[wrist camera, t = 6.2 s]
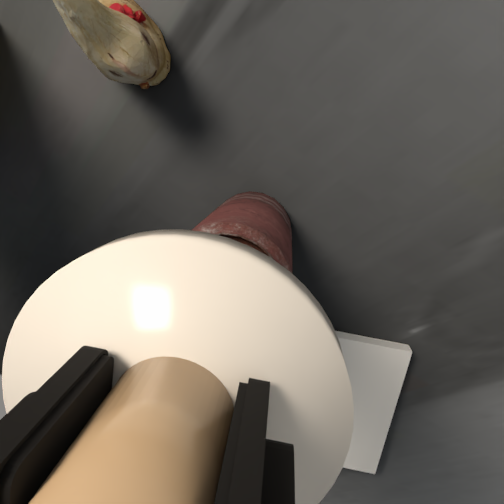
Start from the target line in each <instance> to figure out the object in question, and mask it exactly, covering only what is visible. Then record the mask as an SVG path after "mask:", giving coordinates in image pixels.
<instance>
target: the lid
mask: <svg viewBox="0 0 504 504" xmlns="http://www.w3.org/2000/svg"><path fill="white" fill-rule="evenodd" d="M83 346H91V347H96V348H101V349H106V350H107V351H108V356H111V357H113V358H114V368H113V381H112V389H111V391H110V392H109V393H108V395H107V396H106V397H105V399H104V400H103V402H102V403H101V404H100V406H99V407H98V408H97V410H96V411H95V413H94V414H93V415H92V417H91V418H90V419H89V421H88V422H87V424H86V425H85V426H84V428H83V429H82V430H81V432H80V433H79V435H78V436H77V437H76V439H75V440H74V441H73V443H72V444H71V446H70V447H69V448H68V450H67V451H66V452H65V454H64V455H63V457H62V458H61V459H60V461H59V462H58V463H57V465H56V466H55V468H54V469H53V470H52V472H51V473H50V474H49V476H48V477H47V479H46V480H45V481H44V483H43V484H42V485H41V487H40V488H39V489H38V491H37V492H36V494H35V495H34V496H33V498H32V499H31V500H30V502H29V503H28V504H214V502H215V497H216V492H217V487H218V482H219V478H220V473H221V468H222V463H223V459H224V454H225V449H226V444H227V439H228V435H229V430H230V425H231V420H232V416H233V411H234V406H235V401H236V396H237V392H238V387H239V382H242V383H247V384H248V381H249V378H253V379H258V380H263V381H268V382H270V393H269V405H268V418H267V431H266V439H270V440H275V441H280V442H285V443H290V444H293V446H294V469H295V504H318V503H319V502H320V501H321V500H322V499H323V498H324V496H325V495H326V494H327V492H328V491H329V490H330V489H331V487H332V486H333V484H334V482H335V481H336V479H337V477H338V475H339V473H340V472H341V470H342V468H343V465H344V462H345V460H346V457H347V454H348V451H349V448H350V443H351V438H352V433H353V420H354V405H353V396H352V388H351V383H350V380H349V376H348V372H347V368H346V364H345V360H344V357H343V353H342V349H341V346H340V342H339V339H338V337H337V335H336V332H335V330H334V328H333V326H332V323H331V321H330V320H329V318H328V316H327V315H326V313H325V311H324V310H323V308H322V307H321V305H320V303H319V302H318V301H317V300H316V298H315V297H314V296H313V295H312V294H311V292H310V291H309V290H308V289H307V287H306V286H305V285H304V284H303V283H302V282H300V281H299V280H298V279H297V278H296V277H295V276H294V275H293V274H292V273H291V272H290V271H289V270H287V269H286V268H284V267H283V266H282V265H280V264H279V263H278V262H276V261H275V260H273V259H272V258H271V257H269V256H267V255H265V254H263V253H261V252H260V251H258V250H256V249H254V248H252V247H250V246H248V245H245V244H243V243H240V242H238V241H235V240H233V239H230V238H227V237H223V236H219V235H215V234H211V233H207V232H201V231H192V230H184V229H171V230H154V231H147V232H140V233H136V234H132V235H129V236H125V237H122V238H118V239H116V240H113V241H111V242H109V243H107V244H105V245H102V246H100V247H98V248H96V249H94V250H92V251H91V252H89V253H87V254H85V255H83V256H81V257H79V258H77V259H76V260H74V261H72V262H71V263H69V264H68V265H66V266H64V267H63V268H61V269H60V270H58V271H57V272H55V273H54V274H53V275H52V276H51V277H49V278H48V279H47V280H46V281H45V282H44V283H43V284H42V285H40V286H39V287H38V288H37V290H36V291H35V292H34V293H33V295H32V296H31V297H30V298H29V299H28V301H27V302H26V303H25V305H24V306H23V308H22V310H21V311H20V313H19V315H18V317H17V318H16V320H15V322H14V325H13V327H12V330H11V332H10V335H9V337H8V340H7V344H6V349H5V353H4V358H3V369H2V387H3V399H4V404H5V409H6V413H8V412H9V411H10V410H11V409H12V408H14V407H15V406H16V405H17V404H18V403H19V402H20V401H21V400H22V399H23V398H24V397H25V396H27V395H28V394H29V393H31V392H36V391H37V390H38V389H39V388H40V387H41V386H42V385H43V384H44V383H45V382H46V381H47V380H48V379H49V378H50V377H51V376H52V375H53V374H54V373H55V372H57V371H58V370H59V369H60V368H61V367H62V366H63V365H64V364H65V363H66V362H67V361H68V360H69V359H70V358H71V357H72V356H73V355H74V354H75V353H76V352H77V351H78V350H79V349H80V348H81V347H83Z"/></svg>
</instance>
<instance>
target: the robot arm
mask: <svg viewBox="0 0 504 504" xmlns="http://www.w3.org/2000/svg"><path fill="white" fill-rule="evenodd" d="M113 368H114V358H113V357H111V356H108V351H107V350H106V349H101V348H96V347H91V346H83V347H81V348H80V349H79V350H78V351H77V352H76V353H75V354H74V355H73V356H72V357H71V358H70V359H69V360H68V361H67V362H66V363H65V364H64V365H63V366H62V367H61V368H60V369H59V370H58V371H57V372H55V373H54V374H53V375H52V376H51V377H50V378H49V379H48V380H47V381H46V382H45V383H44V384H43V385H42V386H41V387H40V388H39V389H38V390H37V391H36V392H31V393H29V394H28V395H27V396H25V397H24V398H23V399H22V400H21V401H20V402H19V403H18V404H17V405H16V406H15V407H14V408H12V409H11V410H10V411H9V412H8V413H7V414H6V415H5V416H4V417H3V418H2V419H1V420H0V504H28V503H29V502H30V500H31V499H32V498H33V496H34V495H35V494H36V492H37V491H38V489H39V488H40V487H41V485H42V484H43V483H44V481H45V480H46V479H47V477H48V476H49V474H50V473H51V472H52V470H53V469H54V468H55V466H56V465H57V463H58V462H59V461H60V459H61V458H62V457H63V455H64V454H65V452H66V451H67V450H68V448H69V447H70V446H71V444H72V443H73V441H74V440H75V439H76V437H77V436H78V435H79V433H80V432H81V430H82V429H83V428H84V426H85V425H86V424H87V422H88V421H89V419H90V418H91V417H92V415H93V414H94V413H95V411H96V410H97V408H98V407H99V406H100V404H101V403H102V402H103V400H104V399H105V397H106V396H107V395H108V393H109V392H110V391H111V389H112V381H113ZM269 393H270V382H268V381H263V380H258V379H253V378H249V381H248V384H247V383H242V382H239V387H238V392H237V396H236V401H235V406H234V411H233V416H232V420H231V425H230V430H229V435H228V439H227V444H226V449H225V454H224V459H223V463H222V468H221V473H220V478H219V482H218V487H217V492H216V497H215V502H214V504H295V469H294V446H293V444H290V443H285V442H280V441H275V440H270V439H266V431H267V418H268V405H269Z"/></svg>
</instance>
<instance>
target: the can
mask: <svg viewBox="0 0 504 504" xmlns="http://www.w3.org/2000/svg"><path fill="white" fill-rule="evenodd" d="M192 231H201V232H207V233H211V234H215V235H219V236H223V237H227V238H230V239H233V240H235V241H238V242H240V243H243V244H245V245H248V246H250V247H252V248H254V249H256V250H258V251H260V252H261V253H263V254H265V255H267V256H269V257H271V258H272V259H273V260H275V261H276V262H278V263H279V264H280V265H282V266H283V267H284V268H286V269H287V270H289V271H290V272H291V273H292V229H291V224H290V218H289V216H288V215H287V213H286V211H285V209H284V207H283V206H282V205H281V204H279V203H278V202H277V201H276V200H275V199H274V198H272V197H270V196H268V195H266V194H263V193H258V192H245V193H240V194H237V195H235V196H233V197H231V198H230V199H228V200H226V201H225V202H224V203H223V204H222V205H220V206H219V207H218V208H217V209H216V210H215V211H213V212H212V213H211V214H210V215H209V216H208V217H206V218H205V219H204V220H203V221H202V222H201V223H199V224H198V225H197V226H196V227H195V228H193V229H192Z"/></svg>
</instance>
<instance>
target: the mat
mask: <svg viewBox="0 0 504 504" xmlns="http://www.w3.org/2000/svg"><path fill="white" fill-rule="evenodd" d="M335 332H336V335H337V337H338V339H339V342H340V346H341V349H342V353H343V357H344V360H345V364H346V368H347V372H348V376H349V380H350V383H351V388H352V396H353V405H354V420H353V433H352V438H351V443H350V448H349V451H348V454H347V457H346V460H345V462H344V465H343V468H348V469H353V470H358V471H362V472H367V473H372V474H375V473H376V469H377V466H378V463H379V460H380V456H381V453H382V450H383V446H384V443H385V440H386V437H387V433H388V430H389V427H390V424H391V420H392V417H393V414H394V411H395V407H396V404H397V401H398V398H399V394H400V391H401V388H402V385H403V381H404V378H405V375H406V372H407V368H408V365H409V362H410V359H411V355H412V350H411V349H410V347H409V345H407V344H402V343H397V342H391V341H386V340H381V339H376V338H371V337H365V336H360V335H355V334H350V333H345V332H340V331H335Z"/></svg>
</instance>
